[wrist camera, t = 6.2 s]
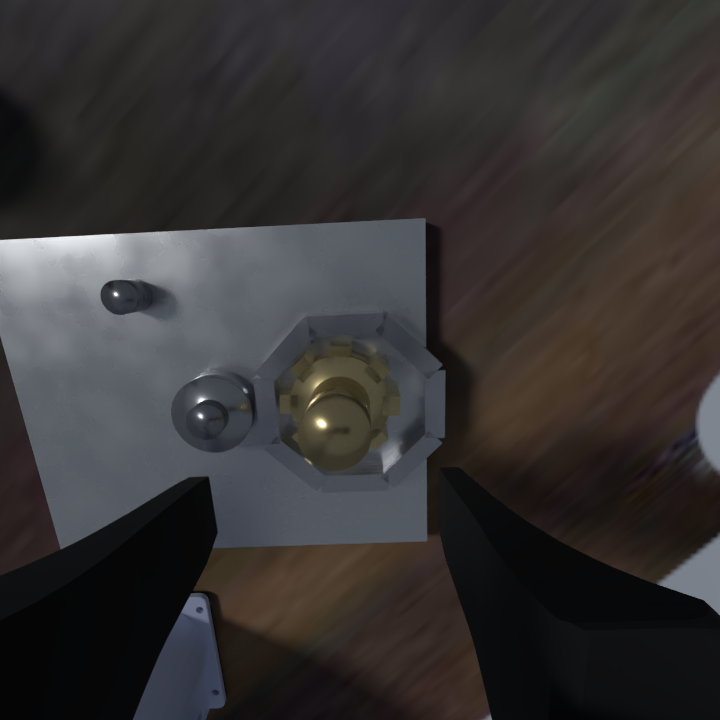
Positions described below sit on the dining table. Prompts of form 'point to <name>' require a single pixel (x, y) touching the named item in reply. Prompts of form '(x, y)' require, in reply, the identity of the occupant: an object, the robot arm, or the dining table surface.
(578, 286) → the dining table surface
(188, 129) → the dining table surface
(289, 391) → the gear
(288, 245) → the carrier plate
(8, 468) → the dining table surface
